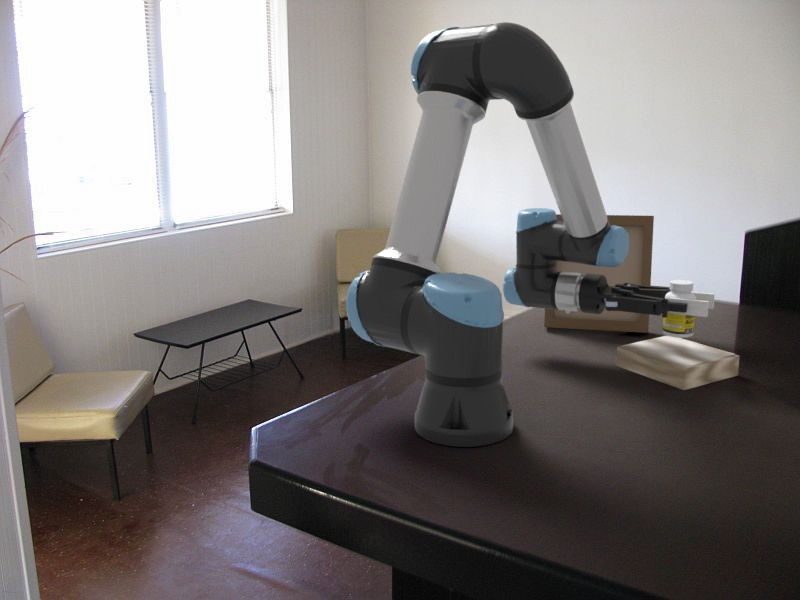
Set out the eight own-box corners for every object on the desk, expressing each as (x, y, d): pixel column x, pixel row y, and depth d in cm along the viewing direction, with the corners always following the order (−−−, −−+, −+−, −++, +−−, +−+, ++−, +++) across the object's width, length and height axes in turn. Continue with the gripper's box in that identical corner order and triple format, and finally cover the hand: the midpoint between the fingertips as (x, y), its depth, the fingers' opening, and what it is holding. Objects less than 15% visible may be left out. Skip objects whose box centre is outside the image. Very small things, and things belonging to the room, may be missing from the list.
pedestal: (684, 390, 137) (685, 368, 136) (616, 365, 150) (617, 345, 149) (737, 375, 144) (739, 354, 143) (668, 353, 157) (669, 333, 156)
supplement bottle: (688, 340, 142) (691, 286, 139) (658, 335, 145) (661, 283, 143) (697, 332, 146) (701, 280, 144) (668, 328, 149) (671, 277, 147)
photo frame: (648, 337, 168) (654, 219, 162) (544, 331, 174) (546, 217, 169) (648, 320, 182) (653, 210, 176) (551, 315, 188) (554, 209, 182)
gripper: (596, 301, 161) (717, 313, 150) (566, 323, 146) (699, 338, 135) (597, 265, 160) (720, 274, 148) (567, 283, 144) (702, 295, 133)
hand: (710, 305), depth 141 cm, fingers closed on supplement bottle, 5 cm apart
